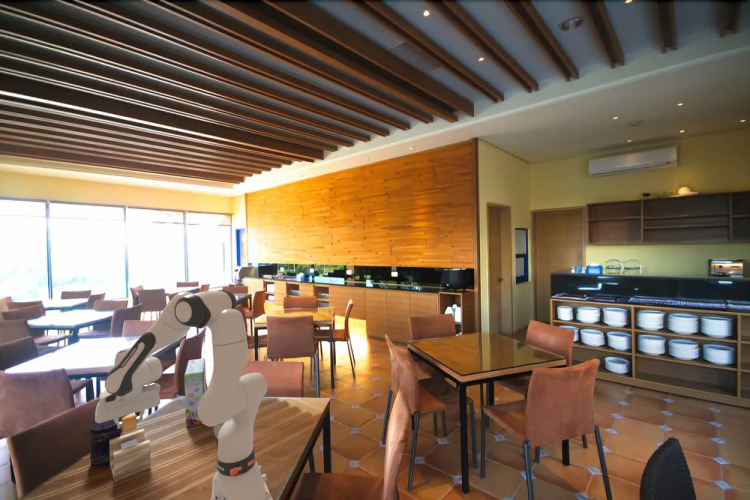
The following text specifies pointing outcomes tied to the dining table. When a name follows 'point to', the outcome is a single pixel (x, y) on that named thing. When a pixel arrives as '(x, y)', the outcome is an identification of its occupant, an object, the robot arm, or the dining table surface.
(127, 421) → the brown egg
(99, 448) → the storage jar
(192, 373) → the snack box
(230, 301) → the robot arm
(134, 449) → the wooden napkin holder
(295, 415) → the dining table surface
